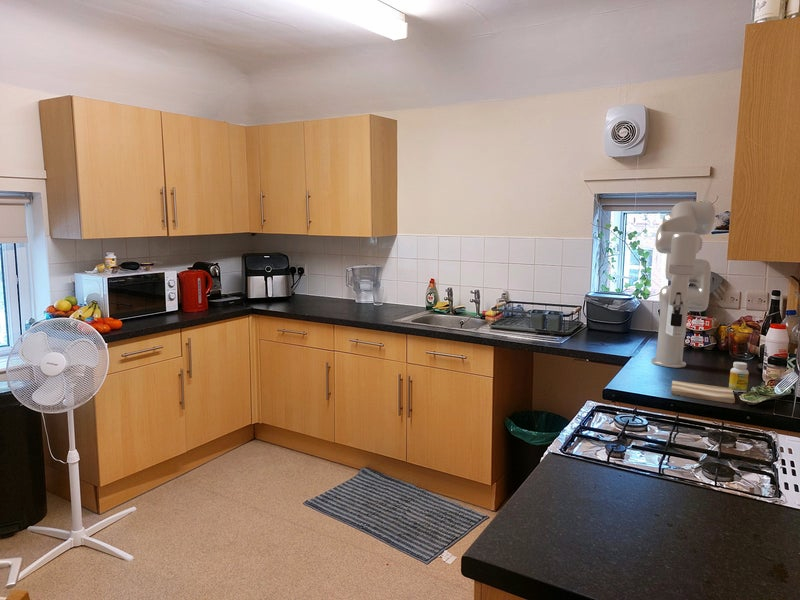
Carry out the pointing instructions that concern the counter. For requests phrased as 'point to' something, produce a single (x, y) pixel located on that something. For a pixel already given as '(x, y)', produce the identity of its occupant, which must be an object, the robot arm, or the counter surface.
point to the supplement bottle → (739, 377)
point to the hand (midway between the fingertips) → (676, 323)
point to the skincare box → (677, 330)
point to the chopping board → (703, 391)
